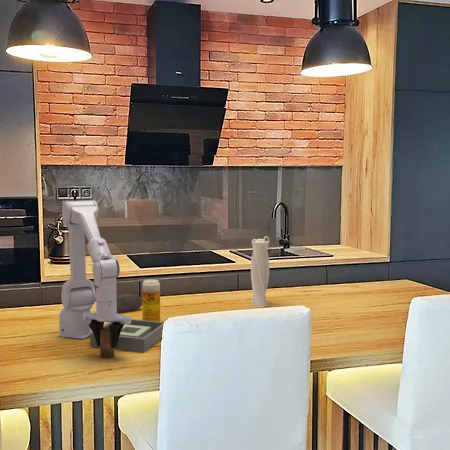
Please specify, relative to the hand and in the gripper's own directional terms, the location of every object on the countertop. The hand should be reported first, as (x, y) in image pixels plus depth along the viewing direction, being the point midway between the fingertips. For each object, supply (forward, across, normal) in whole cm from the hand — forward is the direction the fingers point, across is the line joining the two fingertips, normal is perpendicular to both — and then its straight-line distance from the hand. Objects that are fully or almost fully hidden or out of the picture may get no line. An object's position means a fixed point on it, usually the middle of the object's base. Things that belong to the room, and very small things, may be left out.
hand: (107, 346), depth 160 cm
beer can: (+3, -1, +34) cm, 34 cm away
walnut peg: (+3, 0, 0) cm, 3 cm away
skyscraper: (+3, +30, +69) cm, 75 cm away
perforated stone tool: (+3, -17, +45) cm, 48 cm away
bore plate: (+3, 0, +15) cm, 15 cm away
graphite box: (+3, 0, +15) cm, 15 cm away
